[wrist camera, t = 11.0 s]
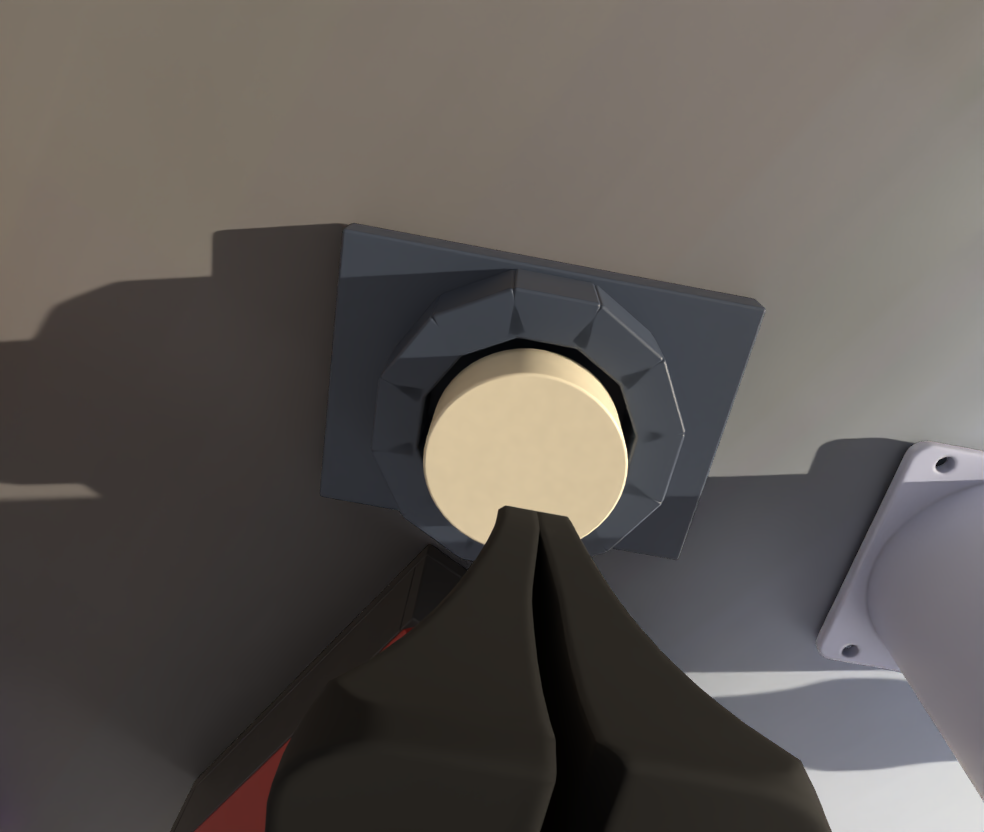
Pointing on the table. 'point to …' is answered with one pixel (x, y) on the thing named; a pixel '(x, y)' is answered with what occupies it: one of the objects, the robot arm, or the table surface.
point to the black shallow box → (322, 679)
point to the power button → (525, 443)
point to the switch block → (538, 325)
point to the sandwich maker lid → (252, 796)
